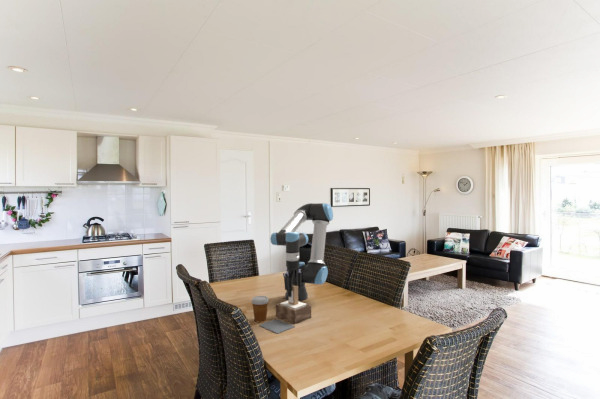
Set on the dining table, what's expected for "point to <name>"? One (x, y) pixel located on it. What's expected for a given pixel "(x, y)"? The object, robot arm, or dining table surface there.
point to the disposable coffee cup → (260, 308)
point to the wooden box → (293, 313)
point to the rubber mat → (277, 326)
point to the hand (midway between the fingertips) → (293, 301)
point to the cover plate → (294, 300)
